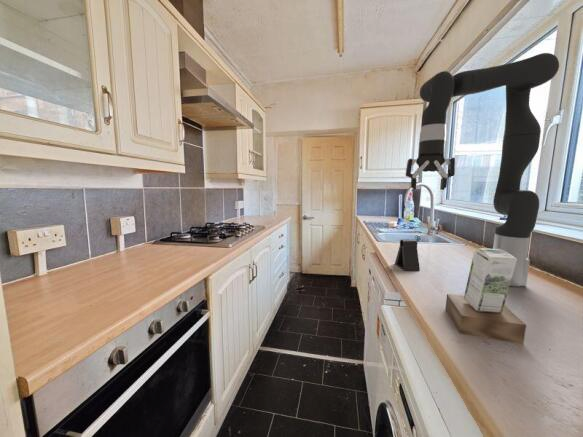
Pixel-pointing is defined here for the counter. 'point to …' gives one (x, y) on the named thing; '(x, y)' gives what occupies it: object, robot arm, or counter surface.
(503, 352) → the counter surface
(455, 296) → the walnut block
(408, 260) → the phone stand
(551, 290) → the counter surface
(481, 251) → the syrup box
